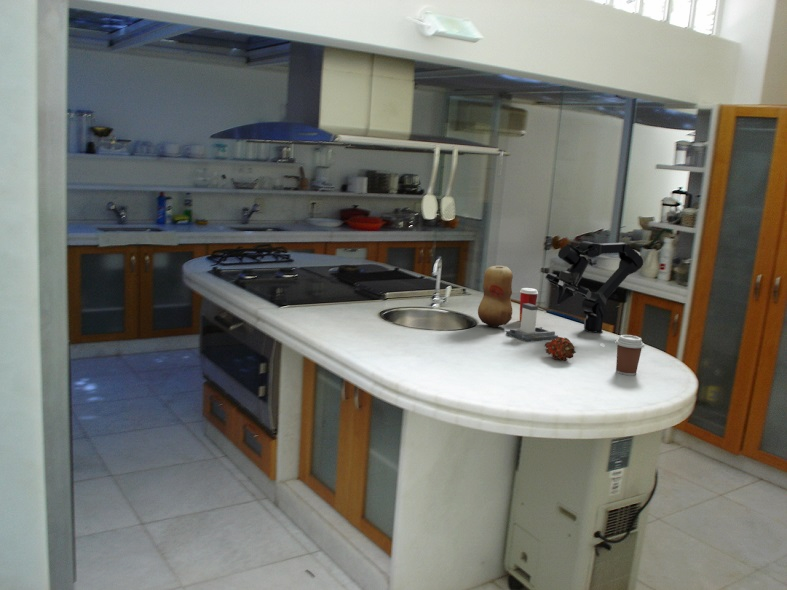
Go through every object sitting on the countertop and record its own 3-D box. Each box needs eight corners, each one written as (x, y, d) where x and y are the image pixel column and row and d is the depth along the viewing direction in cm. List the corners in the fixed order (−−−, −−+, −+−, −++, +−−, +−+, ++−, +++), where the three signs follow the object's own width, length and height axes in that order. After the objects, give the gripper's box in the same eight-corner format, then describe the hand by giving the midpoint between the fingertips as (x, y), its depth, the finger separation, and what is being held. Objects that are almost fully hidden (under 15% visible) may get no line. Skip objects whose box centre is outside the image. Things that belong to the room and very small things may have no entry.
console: (536, 331, 292) (537, 325, 291) (557, 338, 282) (558, 332, 281) (506, 334, 284) (506, 328, 283) (526, 341, 274) (527, 335, 273)
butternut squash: (474, 328, 290) (480, 266, 285) (478, 321, 303) (484, 262, 298) (509, 332, 287) (515, 270, 282) (512, 325, 300) (518, 265, 295)
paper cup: (534, 320, 312) (537, 288, 310) (536, 324, 305) (539, 291, 302) (516, 318, 313) (519, 287, 310) (517, 322, 305) (520, 290, 303)
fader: (528, 331, 285) (531, 303, 283) (537, 334, 281) (540, 305, 278) (516, 332, 282) (519, 303, 280) (525, 336, 277) (528, 306, 275)
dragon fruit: (572, 368, 247) (544, 364, 256) (584, 351, 251) (556, 348, 261) (563, 350, 244) (535, 347, 253) (575, 333, 248) (547, 330, 257)
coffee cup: (618, 366, 248) (622, 332, 245) (644, 373, 242) (649, 338, 240) (607, 371, 241) (611, 336, 238) (634, 378, 235) (638, 342, 233)
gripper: (550, 255, 288) (532, 289, 287) (592, 271, 278) (573, 307, 277) (558, 264, 297) (540, 297, 297) (599, 281, 287) (580, 315, 286)
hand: (558, 304), depth 289 cm, fingers closed
